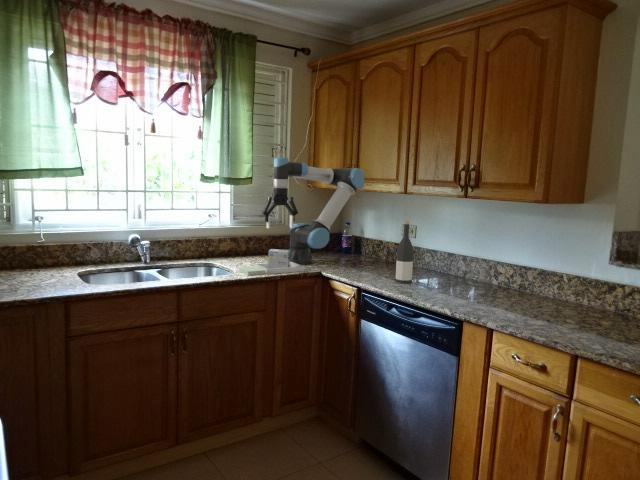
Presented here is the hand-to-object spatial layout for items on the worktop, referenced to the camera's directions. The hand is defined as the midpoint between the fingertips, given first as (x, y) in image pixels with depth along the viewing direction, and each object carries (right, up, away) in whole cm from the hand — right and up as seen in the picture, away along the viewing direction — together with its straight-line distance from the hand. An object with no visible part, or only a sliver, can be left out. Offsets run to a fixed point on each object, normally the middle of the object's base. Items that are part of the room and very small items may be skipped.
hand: (279, 227), depth 259 cm
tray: (-1, -22, +3) cm, 22 cm away
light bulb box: (-1, -23, +3) cm, 23 cm away
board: (-14, -23, -7) cm, 28 cm away
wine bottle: (+62, -27, -17) cm, 70 cm away
